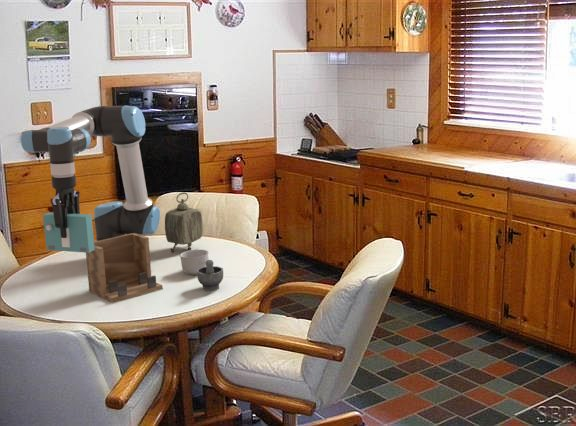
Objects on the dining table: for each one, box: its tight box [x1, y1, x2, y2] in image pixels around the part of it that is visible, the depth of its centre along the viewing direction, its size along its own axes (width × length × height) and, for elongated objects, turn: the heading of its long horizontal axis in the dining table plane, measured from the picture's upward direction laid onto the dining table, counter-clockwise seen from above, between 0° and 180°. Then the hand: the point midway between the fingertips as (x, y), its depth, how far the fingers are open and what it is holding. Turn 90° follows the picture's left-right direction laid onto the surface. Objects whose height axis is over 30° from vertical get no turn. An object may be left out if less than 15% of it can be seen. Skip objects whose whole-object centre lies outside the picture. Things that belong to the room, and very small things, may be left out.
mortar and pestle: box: [196, 259, 224, 292], centre depth 270 cm, size 11×9×12 cm
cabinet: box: [85, 233, 164, 304], centre depth 270 cm, size 17×20×18 cm
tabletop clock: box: [164, 192, 204, 253], centre depth 319 cm, size 14×9×25 cm, turn 144°
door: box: [42, 212, 95, 254], centre depth 248 cm, size 5×16×12 cm, turn 73°
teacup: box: [179, 248, 210, 276], centre depth 291 cm, size 14×11×8 cm
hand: (70, 244), depth 249 cm, fingers closed on door, 3 cm apart
